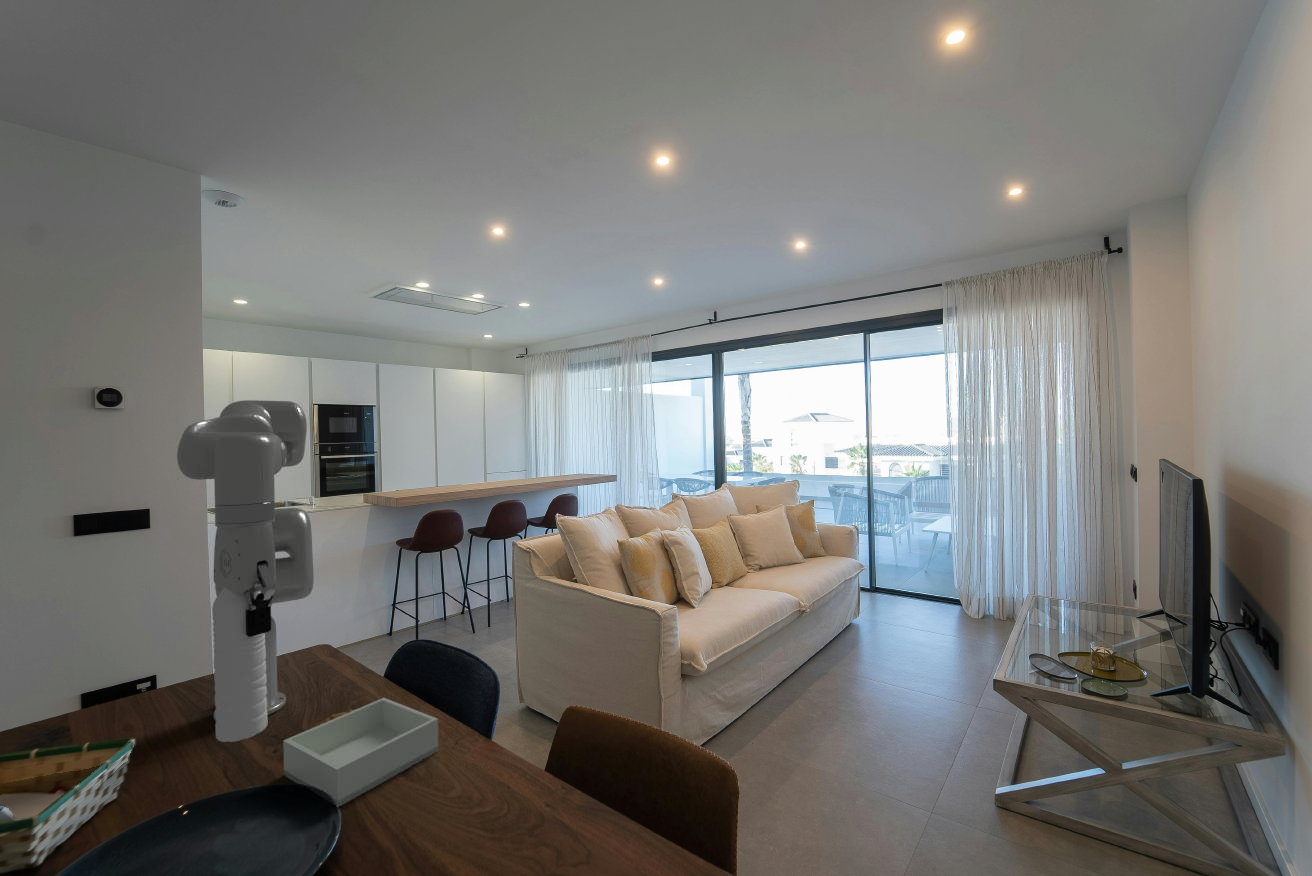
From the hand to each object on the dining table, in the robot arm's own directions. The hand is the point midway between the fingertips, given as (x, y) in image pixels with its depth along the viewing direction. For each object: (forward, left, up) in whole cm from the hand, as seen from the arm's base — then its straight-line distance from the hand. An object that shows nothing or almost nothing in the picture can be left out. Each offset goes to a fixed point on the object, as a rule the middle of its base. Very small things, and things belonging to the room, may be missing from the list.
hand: (247, 628), depth 89 cm
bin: (+2, +17, -29) cm, 33 cm away
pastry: (-12, +20, -29) cm, 37 cm away
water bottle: (0, 0, -16) cm, 16 cm away
